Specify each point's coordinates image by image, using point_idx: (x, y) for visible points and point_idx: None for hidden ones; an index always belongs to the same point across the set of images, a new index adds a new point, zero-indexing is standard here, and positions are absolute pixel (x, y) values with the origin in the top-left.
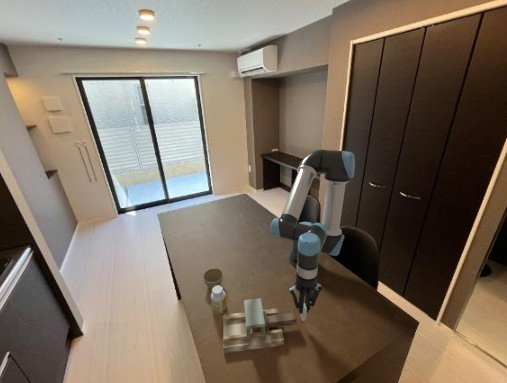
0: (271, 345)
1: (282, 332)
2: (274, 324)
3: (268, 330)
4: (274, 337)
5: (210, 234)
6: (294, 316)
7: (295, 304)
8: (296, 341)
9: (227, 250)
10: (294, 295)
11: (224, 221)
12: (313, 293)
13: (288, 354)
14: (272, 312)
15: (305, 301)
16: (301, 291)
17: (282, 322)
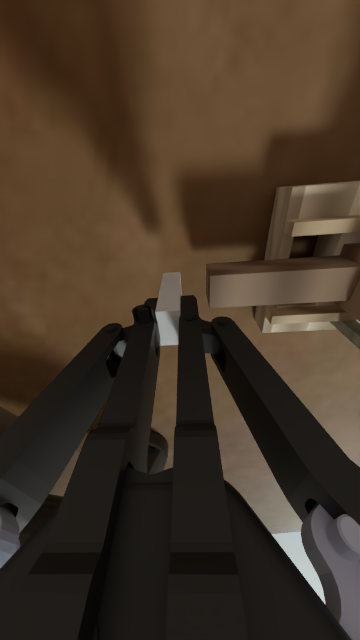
0: (337, 182)
1: (291, 221)
2: (315, 263)
3: (339, 243)
4: (332, 204)
5: None
6: (216, 290)
7: (248, 342)
8: (216, 200)
9: None
10: (323, 458)
11: (284, 509)
12: (75, 426)
13: (274, 132)
14: (295, 317)
15: (156, 356)
16: (230, 539)
17: (279, 267)
